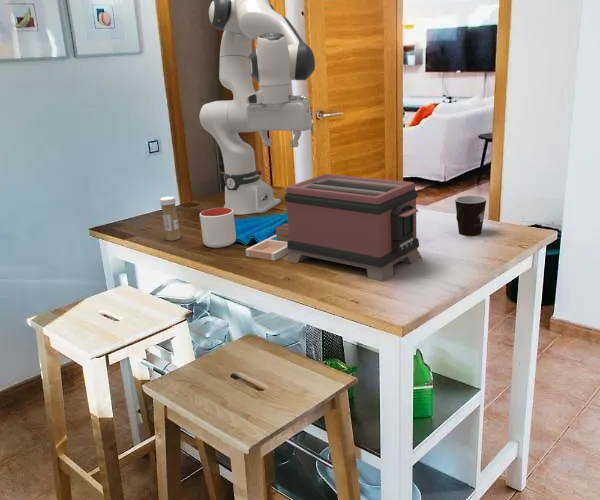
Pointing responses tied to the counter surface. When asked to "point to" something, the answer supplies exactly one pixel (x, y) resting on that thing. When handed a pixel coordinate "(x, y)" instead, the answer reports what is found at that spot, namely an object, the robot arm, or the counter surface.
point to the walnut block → (282, 233)
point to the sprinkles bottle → (170, 218)
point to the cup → (218, 227)
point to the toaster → (353, 222)
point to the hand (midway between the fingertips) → (280, 146)
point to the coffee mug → (470, 214)
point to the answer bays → (268, 249)
